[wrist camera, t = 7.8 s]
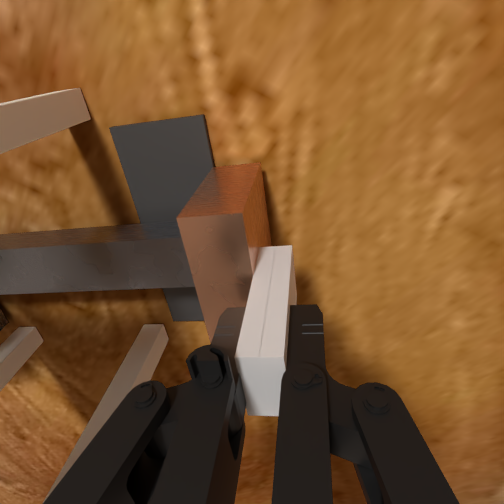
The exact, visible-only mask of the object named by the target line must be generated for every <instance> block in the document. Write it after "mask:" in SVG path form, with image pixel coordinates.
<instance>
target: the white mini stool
mask: <svg viewBox="0 0 504 504" xmlns="http://www.w3.org/2000/svg"><path fill="white" fill-rule="evenodd" d="M90 119H91V118H90V115H89V112H88V109H87V106H86V103H85V101H84V98H83V95H82V92H81V89H80V88H75V89H69V90H62V91H56V92H51V93H46V94H42V95H37V96H32V97H28V98H23V99H19V100H14V101H10V102H5V103H0V154H1V153H4V152H7V151H9V150H12V149H14V148H17V147H20V146H22V145H25V144H28V143H30V142H33V141H35V140H38V139H41V138H43V137H46V136H48V135H51V134H54V133H56V132H59V131H62V130H64V129H67V128H69V127H72V126H75V125H77V124H80V123H82V122H85V121H88V120H90ZM109 129H110V132H111V135H112V138H113V141H114V144H115V147H116V150H117V153H118V156H119V159H120V162H121V165H122V168H123V171H124V174H125V177H126V180H127V183H128V186H129V189H130V192H131V195H132V198H133V201H134V204H135V207H136V210H137V213H138V216H139V219H140V222H141V224H142V223H155V222H168V221H177V219H176V218H177V216H178V215H179V214H180V212H181V211H182V209H183V208H184V207H185V205H186V204H187V202H188V201H189V200H190V198H191V197H192V196H193V194H194V193H195V191H196V190H197V189H198V187H199V186H200V184H201V183H202V182H203V180H204V179H205V177H206V176H207V175H208V173H209V172H210V170H211V169H212V168H213V167H215V166H214V161H213V156H212V151H211V146H210V141H209V136H208V131H207V126H206V121H205V116H204V115H196V116H189V117H181V118H174V119H166V120H159V121H151V122H144V123H137V124H129V125H122V126H114V127H110V128H109ZM163 291H164V294H165V297H166V300H167V303H168V306H169V309H170V312H171V315H172V318H173V321H204V317H203V313H202V310H201V306H200V303H199V299H198V295H197V292H196V288H195V287H176V288H163ZM168 340H169V338H168V336H167V333H166V330H165V327H164V324H144V325H143V327H142V329H141V330H140V332H139V334H138V336H137V338H136V339H135V341H134V343H133V345H132V346H131V348H130V350H129V352H128V353H127V355H126V357H125V359H124V361H123V362H122V364H121V366H120V368H119V369H118V371H117V373H116V375H115V376H114V378H113V380H112V382H111V383H110V385H109V387H108V389H107V391H106V392H105V394H104V396H103V398H102V399H101V401H100V403H99V405H98V406H97V408H96V410H95V412H94V414H93V415H92V417H91V419H90V421H89V422H88V424H87V426H86V428H85V429H84V431H83V433H82V435H81V437H80V438H79V440H78V442H77V444H76V445H75V447H74V449H73V451H72V452H71V454H70V456H69V458H68V459H67V461H66V463H65V465H64V467H63V468H62V470H61V472H60V474H59V475H58V477H57V479H56V481H55V482H54V484H53V486H52V488H51V490H50V491H49V493H48V495H47V497H46V498H45V500H46V499H47V498H48V496H49V495H50V494H51V492H52V491H53V490H54V488H55V487H56V486H57V485H58V483H59V482H60V481H61V479H62V478H63V477H64V476H65V474H66V473H67V472H68V470H69V469H70V468H71V466H72V465H73V464H74V463H75V461H76V460H77V459H78V457H79V456H80V455H81V454H82V452H83V451H84V450H85V448H86V447H87V446H88V444H89V443H90V442H91V441H92V439H93V438H94V437H95V435H96V434H97V433H98V431H99V430H100V429H101V428H102V426H103V425H104V424H105V422H106V421H107V420H108V419H109V417H110V416H111V415H112V413H113V412H114V411H115V409H116V408H117V407H118V406H119V404H120V403H121V402H122V400H123V399H124V398H125V397H126V395H127V394H128V393H129V392H130V391H131V390H132V389H133V388H134V387H135V386H137V385H139V384H141V383H143V382H147V381H150V380H151V378H152V375H153V373H154V371H155V369H156V367H157V364H158V362H159V360H160V358H161V356H162V353H163V351H164V349H165V347H166V345H167V342H168ZM42 343H43V339H42V337H41V335H40V334H39V332H38V330H37V329H36V327H18V328H17V329H16V330H15V331H14V332H13V333H12V334H11V335H10V336H9V337H8V338H7V339H6V340H5V341H4V342H3V343H2V344H1V345H0V391H1V390H2V389H3V388H4V387H5V385H6V384H7V383H8V382H9V381H10V380H11V378H12V377H13V376H14V375H15V374H16V373H17V371H18V370H19V369H20V368H21V367H22V366H23V365H24V363H25V362H26V361H27V360H28V359H29V358H30V356H31V355H32V354H33V353H34V352H35V351H36V349H37V348H38V347H39V346H40V345H41V344H42ZM45 500H44V501H45ZM43 503H44V502H43Z"/></svg>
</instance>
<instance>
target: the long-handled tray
mask: <svg viewBox="0 0 504 504" xmlns="http://www.w3.org/2000/svg"><path fill="white" fill-rule="evenodd" d="M176 219H177V221H168V222H155V223H142V224H129V225H116V226H104V227H91V228H78V229H65V230H52V231H39V232H26V233H14V234H1V235H0V295H5V294H29V293H54V292H78V291H103V290H127V289H151V288H176V287H195V288H196V292H197V295H198V299H199V303H200V306H201V310H202V313H203V317H204V321H205V324H206V328H207V332H208V335H209V339H210V342H212V339H213V336H214V333H215V329H216V328H217V323H218V320H219V317H220V315H221V314H222V313H223V312H224V311H225V310H226V309H227V308H232V307H246V305H247V301H248V296H249V292H250V287H251V283H252V279H253V275H254V270H255V266H256V261H257V257H258V252H259V248H260V247H271V246H272V243H271V236H270V229H269V221H268V214H267V206H266V199H265V191H264V184H263V176H262V169H261V163H251V164H242V165H232V166H222V167H213V168H212V169H211V170H210V172H209V173H208V175H207V176H206V177H205V179H204V180H203V182H202V183H201V184H200V186H199V187H198V189H197V190H196V191H195V193H194V194H193V196H192V197H191V198H190V200H189V201H188V202H187V204H186V205H185V207H184V208H183V209H182V211H181V212H180V214H179V215H178V216H177V218H176ZM8 323H9V322H8V320H7V319H6V317H5V315H4V314H3V312H2V311H1V309H0V331H1V330H2V329H3V328H4V327H5V326H6V325H7V324H8Z"/></svg>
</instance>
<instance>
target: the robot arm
mask: <svg viewBox="0 0 504 504" xmlns="http://www.w3.org/2000/svg"><path fill="white" fill-rule="evenodd" d="M296 303H297V290H296V280H295V270H294V260H293V250H292V245H288V246H271V247H260V248H259V252H258V257H257V261H256V266H255V270H254V275H253V279H252V283H251V287H250V292H249V296H248V301H247V305H246V307H232V308H227V309H226V310H225V311H224V312H223V313H222V314H221V315H220V317H219V320H218V323H217V328H216V329H215V333H214V336H213V339H212V342H211V345H206V346H202V347H200V348H198V349H196V350H194V351H193V352H192V353H191V354H190V355H189V356H188V358H187V360H186V363H187V366H188V369H189V372H190V375H191V378H192V380H190V381H189V382H186V383H184V384H181V385H177V386H174V387H170V388H165V386H164V385H163V384H162V383H160V382H158V381H147V382H143V383H141V384H139V385H137V386H135V387H134V388H133V389H132V390H131V391H130V392H129V393H128V394H127V395H126V397H125V398H124V399H123V400H122V402H121V403H120V404H119V406H118V407H117V408H116V409H115V411H114V412H113V413H112V415H111V416H110V417H109V419H108V420H107V421H106V422H105V424H104V425H103V426H102V428H101V429H100V430H99V431H98V433H97V434H96V435H95V437H94V438H93V439H92V441H91V442H90V443H89V444H88V446H87V447H86V448H85V450H84V451H83V452H82V454H81V455H80V456H79V457H78V459H77V460H76V461H75V463H74V464H73V465H72V466H71V468H70V469H69V470H68V472H67V473H66V474H65V476H64V477H63V478H62V479H61V481H60V482H59V483H58V485H57V486H56V487H55V488H54V490H53V491H52V492H51V494H50V495H49V496H48V498H47V499H46V500H45V501H44V503H43V504H234V502H235V496H236V489H237V483H238V476H239V470H240V464H241V457H242V451H243V444H244V438H245V422H244V414H245V408H246V409H247V413H248V415H256V416H279V417H278V429H277V442H276V455H275V468H274V481H273V494H272V504H333V497H332V478H331V460H330V453H331V454H333V455H336V456H338V457H341V458H343V459H346V460H349V461H351V462H353V464H354V467H355V470H356V473H357V475H358V478H359V481H360V484H361V487H362V490H363V493H364V495H365V498H366V501H367V504H459V502H458V500H457V498H456V497H455V495H454V493H453V491H452V489H451V488H450V486H449V484H448V482H447V480H446V479H445V477H444V475H443V473H442V471H441V470H440V468H439V466H438V464H437V462H436V461H435V459H434V457H433V455H432V453H431V452H430V450H429V448H428V446H427V444H426V443H425V441H424V439H423V437H422V435H421V434H420V432H419V430H418V428H417V426H416V425H415V423H414V421H413V419H412V417H411V416H410V414H409V412H408V410H407V408H406V407H405V405H404V403H403V401H402V399H401V398H400V396H399V395H398V394H397V393H396V392H395V391H394V390H393V389H391V388H390V387H388V386H387V385H383V384H380V383H366V384H363V385H360V386H359V387H358V388H357V389H354V388H351V387H348V386H345V385H342V384H340V383H338V382H337V381H335V380H334V379H333V378H332V377H331V376H330V375H329V374H328V372H327V370H326V366H325V350H324V332H323V314H322V312H321V310H320V309H319V307H318V306H317V305H316V304H314V305H296Z"/></svg>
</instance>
